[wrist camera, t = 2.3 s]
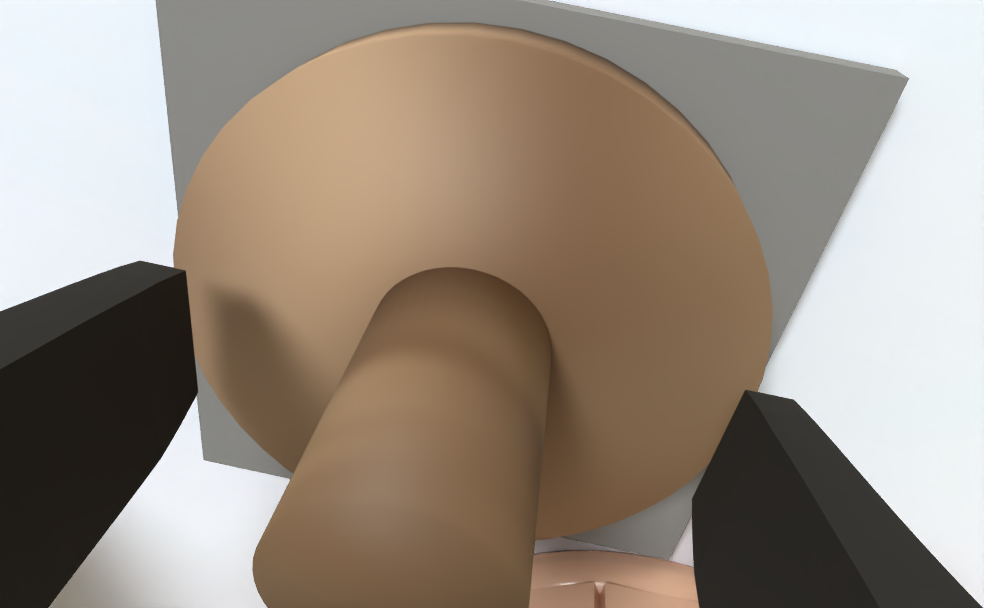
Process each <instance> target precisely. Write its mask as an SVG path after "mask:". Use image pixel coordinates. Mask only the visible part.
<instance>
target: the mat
mask: <svg viewBox="0 0 984 608" xmlns="http://www.w3.org/2000/svg"><path fill="white" fill-rule="evenodd" d="M156 8H157V18H158V28H159V37H160V47H161V56H162V66H163V75H164V85H165V95H166V104H167V114H168V123H169V133H170V143H171V152H172V162H173V171H174V181H175V190H176V200H177V210H178V217H179V213H180V210H181V206H182V203H183V199H184V196H185V192H186V189H187V187H188V185H189V182H190V180H191V178H192V176H193V174H194V172H195V170H196V168H197V166H198V164H199V162H200V160H201V158H202V156H203V155H204V153H205V152H206V150H207V149H208V148H209V146H210V145H211V143H212V142H213V141H214V139H215V138H216V136H217V135H218V134H219V132H220V131H221V129H222V128H223V127H224V126H225V125H226V124H227V123H228V122H229V121H230V120H231V119H232V118H233V117H234V116H235V115H236V114H237V113H238V112H239V111H240V110H241V109H242V108H243V107H244V106H245V105H246V104H247V103H248V102H249V101H250V100H251V99H252V98H254V97H255V96H257V95H258V94H259V93H261V92H262V91H264V90H265V89H266V88H268V87H269V86H271V85H272V84H274V83H275V82H276V81H278V80H279V79H281V78H282V77H283V76H285V75H286V74H288V73H290V72H291V71H293V70H294V69H296V68H297V67H299V66H300V65H302V64H303V63H305V62H307V61H308V60H310V59H312V58H314V57H316V56H318V55H320V54H322V53H324V52H326V51H328V50H330V49H332V48H334V47H336V46H339V45H341V44H343V43H345V42H348V41H351V40H354V39H357V38H360V37H364V36H367V35H370V34H373V33H376V32H380V31H383V30H387V29H393V28H399V27H406V26H412V25H419V24H425V23H471V22H475V23H482V24H490V25H498V26H505V27H513V28H520V29H524V30H528V31H531V32H535V33H538V34H542V35H546V36H549V37H553V38H556V39H560V40H564V41H566V42H569V43H571V44H573V45H576V46H578V47H580V48H583V49H585V50H587V51H590V52H592V53H594V54H596V55H599V56H601V57H603V58H606V59H608V60H609V61H611V62H613V63H614V64H616V65H618V66H619V67H621V68H623V69H624V70H626V71H627V72H629V73H631V74H632V75H634V76H636V77H637V78H639V79H641V80H642V81H644V82H645V83H647V84H648V85H649V86H650V87H652V88H653V89H654V90H655V91H657V92H658V93H659V94H660V95H661V96H663V97H664V98H665V99H666V100H667V101H669V102H670V103H671V104H672V105H673V106H675V107H676V108H677V109H678V110H679V111H680V112H681V113H682V114H683V115H684V116H685V117H686V118H687V119H688V120H689V121H690V123H691V124H692V125H693V126H694V127H695V128H696V129H697V130H698V131H699V133H700V134H701V135H702V136H703V137H704V138H705V139H706V140H707V141H708V143H709V144H710V146H711V147H712V149H713V150H714V152H715V153H716V155H717V156H718V158H719V159H720V161H721V162H722V164H723V165H724V167H725V168H726V170H727V171H728V173H729V174H730V176H731V178H732V180H733V183H734V185H735V187H736V189H737V191H738V193H739V196H740V198H741V200H742V202H743V204H744V207H745V209H746V211H747V213H748V215H749V218H750V220H751V222H752V224H753V226H754V229H755V231H756V233H757V235H758V237H759V241H760V244H761V248H762V252H763V255H764V259H765V263H766V266H767V270H768V273H769V281H770V291H771V300H772V310H773V313H772V328H771V344H770V350H769V354H768V358H767V362H766V365H767V363H768V361H769V359H770V357H771V355H772V353H773V351H774V349H775V347H776V345H777V343H778V341H779V339H780V337H781V335H782V333H783V331H784V329H785V327H786V325H787V323H788V321H789V319H790V317H791V315H792V313H793V311H794V309H795V307H796V305H797V303H798V301H799V299H800V297H801V295H802V293H803V291H804V289H805V286H806V284H807V282H808V280H809V278H810V276H811V274H812V272H813V270H814V268H815V266H816V264H817V262H818V260H819V258H820V256H821V254H822V252H823V250H824V248H825V246H826V244H827V242H828V240H829V238H830V236H831V234H832V232H833V230H834V228H835V226H836V224H837V222H838V220H839V218H840V216H841V214H842V212H843V210H844V208H845V206H846V204H847V202H848V200H849V198H850V196H851V194H852V192H853V190H854V188H855V186H856V184H857V182H858V180H859V178H860V176H861V174H862V172H863V170H864V168H865V166H866V164H867V162H868V160H869V158H870V156H871V154H872V152H873V150H874V148H875V146H876V144H877V142H878V140H879V138H880V136H881V134H882V132H883V130H884V128H885V126H886V124H887V122H888V120H889V118H890V116H891V114H892V112H893V110H894V108H895V106H896V104H897V102H898V100H899V98H900V96H901V94H902V92H903V90H904V88H905V86H906V84H907V82H908V80H909V78H908V77H906V76H904V75H903V74H901V73H900V72H898V71H897V70H893V69H888V68H883V67H878V66H873V65H868V64H863V63H858V62H853V61H848V60H843V59H838V58H833V57H828V56H823V55H818V54H813V53H808V52H803V51H798V50H793V49H788V48H783V47H778V46H773V45H768V44H763V43H758V42H753V41H748V40H743V39H738V38H733V37H728V36H723V35H718V34H713V33H708V32H704V31H699V30H694V29H689V28H684V27H679V26H674V25H669V24H664V23H659V22H654V21H649V20H644V19H639V18H634V17H629V16H624V15H619V14H614V13H609V12H604V11H599V10H594V9H589V8H584V7H579V6H574V5H569V4H564V3H559V2H554V1H549V0H156ZM195 364H196V374H197V383H198V394H197V401H198V411H199V420H200V430H201V440H202V449H203V459H204V460H206V461H210V462H215V463H220V464H224V465H229V466H234V467H238V468H243V469H248V470H252V471H257V472H262V473H266V474H271V475H275V476H280V477H285V478H289V479H291V478H292V476H293V473H292V472H290V471H289V470H287V469H286V468H285V467H283V466H282V465H281V464H280V463H279V462H277V461H276V460H275V459H274V458H273V457H271V456H270V455H269V454H268V453H267V452H265V451H264V450H263V449H262V448H261V447H260V446H259V445H258V444H257V443H256V442H255V441H254V440H253V439H252V438H251V437H250V436H249V435H248V434H247V433H246V432H245V431H244V430H243V429H242V428H241V427H240V425H239V424H238V423H237V422H236V420H235V419H234V418H233V417H232V416H231V414H230V413H229V412H228V411H227V409H226V408H225V407H224V406H223V404H222V403H221V402H220V400H219V399H218V397H217V395H216V394H215V392H214V391H213V389H212V388H211V386H210V384H209V383H208V381H207V380H206V378H205V377H204V375H203V373H202V370H201V368H200V366H199V364H198V362H197V360H196V358H195ZM708 465H709V464H708ZM708 465H707V466H706V467H705V468H704V469H703V470H702V471H701V472H700V473H699V474H698V475H696V476H695V477H694V478H693V479H692V480H691V481H690V482H688V483H687V484H685V485H684V486H682V487H681V488H680V489H678V490H677V491H675V492H674V493H673V494H671V495H670V496H668V497H667V498H665V499H664V500H662V501H660V502H658V503H656V504H654V505H652V506H651V507H649V508H647V509H645V510H643V511H641V512H639V513H637V514H635V515H632V516H630V517H627V518H625V519H622V520H620V521H617V522H615V523H613V524H610V525H606V526H603V527H600V528H596V529H593V530H589V531H586V532H582V533H578V534H572V535H567V536H561V537H563V538H568V539H572V540H577V541H582V542H586V543H591V544H596V545H600V546H605V547H610V548H614V549H619V550H623V551H628V552H633V553H637V554H642V555H647V556H651V557H656V558H661V559H665V560H669V559H670V557H671V555H672V553H673V551H674V549H675V547H676V545H677V543H678V541H679V539H680V537H681V535H682V533H683V531H684V529H685V527H686V525H687V523H688V521H689V519H690V517H691V515H692V498H693V495H694V493H695V491H696V489H697V487H698V485H699V483H700V481H701V479H702V477H703V475H704V473H705V471H706V469H707V467H708Z"/></svg>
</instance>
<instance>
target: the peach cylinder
mask: <svg viewBox="0 0 984 608" xmlns="http://www.w3.org/2000/svg"><path fill="white" fill-rule="evenodd" d="M529 608H699V603H698V597H697V590H696V583H695V576H694V568H692V567H689V566H686V565H682V564H678V563H674V562H670V561H667V560H663V559H659V558H653V557H647V556H641V555H635V554H630V553H618V552H606V551H563V552H551V553H540V554H535V555H534V557H533V568H532V580H531V591H530V602H529Z"/></svg>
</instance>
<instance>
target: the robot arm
mask: <svg viewBox="0 0 984 608" xmlns="http://www.w3.org/2000/svg"><path fill="white" fill-rule="evenodd" d="M197 394H198V383H197V374H196V364H195V354H194V344H193V335H192V325H191V315H190V305H189V296H188V286H187V276H186V270H181V269H177V268H172V267H167V266H163V265H158V264H153V263H148V262H144V261H137V262H134V263H130V264H127V265H124V266H120V267H117V268H114V269H111V270H109V271H106V272H103V273H100V274H97V275H95V276H92V277H89V278H87V279H84V280H81V281H79V282H76V283H73V284H71V285H68V286H65V287H63V288H60V289H58V290H55V291H52V292H50V293H47V294H45V295H42V296H39V297H37V298H34V299H32V300H29V301H27V302H24V303H21V304H19V305H16V306H13V307H11V308H8V309H6V310H3V311H0V608H48V607H49V606H50V605H51V603H52V602H53V601H54V599H55V598H56V597H57V595H58V594H59V593H60V591H61V590H62V589H63V587H64V586H65V585H66V584H67V582H68V581H69V580H70V578H71V577H72V576H73V574H74V573H75V572H76V570H77V569H78V568H79V566H80V565H81V564H82V563H83V561H84V560H85V559H86V557H87V556H88V555H89V553H90V552H91V551H92V549H93V548H94V547H95V545H96V544H97V543H98V542H99V540H100V539H101V538H102V536H103V535H104V534H105V532H106V531H107V530H108V528H109V527H110V526H111V524H112V523H113V522H114V521H115V519H116V518H117V517H118V515H119V514H120V513H121V511H122V510H123V509H124V507H125V506H126V505H127V503H128V502H129V501H130V499H131V498H132V497H133V495H134V494H135V493H136V491H137V490H138V489H139V487H140V486H141V485H142V483H143V482H144V481H145V479H146V478H147V477H148V475H149V474H150V473H151V471H152V470H153V468H154V467H155V466H156V464H157V463H158V462H159V460H160V459H161V457H162V456H163V454H164V452H165V451H166V449H167V447H168V446H169V444H170V442H171V440H172V439H173V437H174V435H175V434H176V432H177V430H178V429H179V427H180V425H181V423H182V421H183V419H184V418H185V416H186V414H187V412H188V410H189V408H190V407H191V405H192V403H193V401H194V399H195V397H196V395H197ZM692 536H693V560H694V576H695V583H696V590H697V597H698V603H699V608H983V607H982V606H981V605H980V604H979V603H978V602H977V601H976V600H975V599H974V598H973V597H972V596H971V595H970V594H969V593H968V592H967V591H966V590H965V589H964V588H963V587H962V586H961V585H960V584H959V583H958V582H957V580H956V579H955V578H954V577H953V576H952V575H951V574H950V573H949V572H948V571H947V570H946V569H945V568H944V567H943V565H942V564H941V563H940V562H939V561H938V560H937V559H936V558H935V557H934V556H933V555H932V554H931V553H930V551H929V550H928V549H927V548H926V547H925V546H924V545H923V544H922V543H921V542H920V540H919V539H918V538H917V537H916V536H915V535H914V534H913V533H912V532H911V530H910V529H909V528H908V527H907V526H906V525H905V524H904V523H903V522H902V520H901V519H900V518H899V517H898V516H897V515H896V514H895V513H894V511H893V510H892V509H891V508H890V507H889V506H888V505H887V503H886V502H885V501H884V500H883V499H882V498H881V497H880V496H879V494H878V493H877V492H876V491H875V490H874V489H873V488H872V486H871V485H870V484H869V483H868V482H867V481H866V480H865V478H864V477H863V476H862V475H861V474H860V473H859V471H858V470H857V469H856V468H855V467H854V466H853V465H852V463H851V462H850V461H849V460H848V459H847V458H846V457H845V455H844V454H843V453H842V452H841V451H840V450H839V448H838V447H837V446H836V445H835V444H834V443H833V442H832V440H831V439H830V438H829V437H828V436H827V435H826V434H825V433H824V431H823V430H822V429H821V428H820V427H819V426H818V425H817V424H816V422H815V421H814V420H813V419H812V418H811V417H810V416H809V415H808V414H807V413H806V412H805V411H804V410H803V409H802V408H801V407H800V405H799V404H798V403H797V402H796V401H795V400H793V399H788V398H783V397H778V396H774V395H769V394H764V393H760V392H755V391H750V390H746V389H745V391H744V393H743V395H742V397H741V399H740V401H739V403H738V406H737V408H736V410H735V412H734V414H733V416H732V418H731V420H730V422H729V424H728V426H727V428H726V430H725V432H724V434H723V436H722V438H721V440H720V442H719V444H718V446H717V448H716V450H715V453H714V455H713V457H712V459H711V461H710V463H709V465H708V467H707V469H706V471H705V473H704V475H703V477H702V479H701V481H700V483H699V485H698V487H697V489H696V491H695V493H694V495H693V498H692Z"/></svg>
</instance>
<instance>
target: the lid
mask: <svg viewBox="0 0 984 608" xmlns="http://www.w3.org/2000/svg"><path fill="white" fill-rule="evenodd" d="M173 258H174V268H177V269H181V270H186V276H187V286H188V296H189V305H190V315H191V325H192V335H193V344H194V354H195V358H196V360H197V362H198V364H199V366H200V368H201V370H202V373H203V375H204V377H205V378H206V380H207V381H208V383H209V384H210V386H211V388H212V389H213V391H214V392H215V394H216V395H217V397H218V399H219V400H220V402H221V403H222V404H223V406H224V407H225V408H226V409H227V411H228V412H229V413H230V414H231V416H232V417H233V418H234V419H235V420H236V422H237V423H238V424H239V425H240V427H241V428H242V429H243V430H244V431H245V432H246V433H247V434H248V435H249V436H250V437H251V438H252V439H253V440H254V441H255V442H256V443H257V444H258V445H259V446H260V447H261V448H262V449H263V450H264V451H265V452H267V453H268V454H269V455H270V456H271V457H273V458H274V459H275V460H276V461H277V462H279V463H280V464H281V465H282V466H283V467H285V468H286V469H287V470H289V471H290V472H292V473H293V476H292V478H291V480H290V482H289V484H288V486H287V488H286V490H285V492H284V494H283V496H282V498H281V500H280V502H279V504H278V506H277V508H276V510H275V512H274V514H273V516H272V518H271V520H270V522H269V524H268V526H267V527H266V529H265V531H264V533H263V535H262V537H261V539H260V541H259V543H258V545H257V547H256V550H255V554H254V557H253V576H254V581H255V584H256V587H257V590H258V592H259V594H260V596H261V598H262V600H263V602H264V603H265V605H266V606H267V607H268V608H529V602H530V591H531V580H532V568H533V557H534V546H535V540H540V539H551V538H556V537H561V536H567V535H572V534H578V533H582V532H586V531H589V530H593V529H596V528H600V527H603V526H606V525H610V524H613V523H615V522H617V521H620V520H622V519H625V518H627V517H630V516H632V515H635V514H637V513H639V512H641V511H643V510H645V509H647V508H649V507H651V506H652V505H654V504H656V503H658V502H660V501H662V500H664V499H665V498H667V497H668V496H670V495H671V494H673V493H674V492H675V491H677V490H678V489H680V488H681V487H682V486H684V485H685V484H687V483H688V482H690V481H691V480H692V479H693V478H694V477H695V476H696V475H698V474H699V473H700V472H701V471H702V470H703V469H704V468H705V467H706V466H707V465H708V464H709V463H710V461H711V459H712V457H713V455H714V453H715V450H716V448H717V446H718V444H719V442H720V440H721V438H722V436H723V434H724V432H725V430H726V428H727V426H728V424H729V422H730V420H731V418H732V416H733V414H734V412H735V410H736V408H737V406H738V403H739V401H740V399H741V397H742V395H743V393H744V391H745V389H746V390H750V391H755V392H757V391H758V389H759V386H760V384H761V381H762V379H763V375H764V371H765V367H766V362H767V358H768V354H769V350H770V344H771V328H772V313H773V310H772V300H771V291H770V281H769V273H768V270H767V266H766V263H765V259H764V255H763V252H762V248H761V244H760V241H759V237H758V235H757V233H756V231H755V229H754V226H753V224H752V222H751V220H750V218H749V215H748V213H747V211H746V209H745V207H744V204H743V202H742V200H741V198H740V196H739V193H738V191H737V189H736V187H735V185H734V183H733V180H732V178H731V176H730V174H729V173H728V171H727V170H726V168H725V167H724V165H723V164H722V162H721V161H720V159H719V158H718V156H717V155H716V153H715V152H714V150H713V149H712V147H711V146H710V144H709V143H708V141H707V140H706V139H705V138H704V137H703V136H702V135H701V134H700V133H699V131H698V130H697V129H696V128H695V127H694V126H693V125H692V124H691V123H690V121H689V120H688V119H687V118H686V117H685V116H684V115H683V114H682V113H681V112H680V111H679V110H678V109H677V108H676V107H675V106H673V105H672V104H671V103H670V102H669V101H667V100H666V99H665V98H664V97H663V96H661V95H660V94H659V93H658V92H657V91H655V90H654V89H653V88H652V87H650V86H649V85H648V84H647V83H645V82H644V81H642V80H641V79H639V78H637V77H636V76H634V75H632V74H631V73H629V72H627V71H626V70H624V69H623V68H621V67H619V66H618V65H616V64H614V63H613V62H611V61H609V60H608V59H606V58H603V57H601V56H599V55H596V54H594V53H592V52H590V51H587V50H585V49H583V48H580V47H578V46H576V45H573V44H571V43H569V42H566V41H564V40H560V39H556V38H553V37H549V36H546V35H542V34H538V33H535V32H531V31H528V30H524V29H520V28H513V27H505V26H498V25H490V24H482V23H475V22H471V23H425V24H419V25H412V26H406V27H399V28H393V29H387V30H383V31H380V32H376V33H373V34H370V35H367V36H364V37H360V38H357V39H354V40H351V41H348V42H345V43H343V44H341V45H339V46H336V47H334V48H332V49H330V50H328V51H326V52H324V53H322V54H320V55H318V56H316V57H314V58H312V59H310V60H308V61H307V62H305V63H303V64H302V65H300V66H299V67H297V68H296V69H294V70H293V71H291V72H290V73H288V74H286V75H285V76H283V77H282V78H281V79H279V80H278V81H276V82H275V83H274V84H272V85H271V86H269V87H268V88H266V89H265V90H264V91H262V92H261V93H259V94H258V95H257V96H255V97H254V98H252V99H251V100H250V101H249V102H248V103H247V104H246V105H245V106H244V107H243V108H242V109H241V110H240V111H239V112H238V113H237V114H236V115H235V116H234V117H233V118H232V119H231V120H230V121H229V122H228V123H227V124H226V125H225V126H224V127H223V128H222V129H221V131H220V132H219V134H218V135H217V136H216V138H215V139H214V141H213V142H212V143H211V145H210V146H209V148H208V149H207V150H206V152H205V153H204V155H203V156H202V158H201V160H200V162H199V164H198V166H197V168H196V170H195V172H194V174H193V176H192V178H191V180H190V182H189V185H188V187H187V189H186V192H185V196H184V199H183V203H182V206H181V210H180V213H179V217H178V220H177V227H176V236H175V244H174V253H173Z"/></svg>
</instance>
